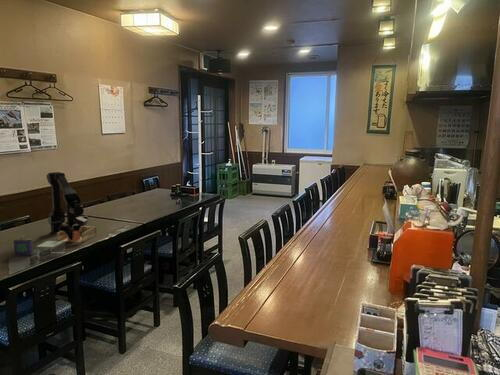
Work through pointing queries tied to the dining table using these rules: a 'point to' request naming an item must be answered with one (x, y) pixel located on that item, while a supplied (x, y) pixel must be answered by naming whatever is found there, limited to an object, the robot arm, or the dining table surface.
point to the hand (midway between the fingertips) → (73, 238)
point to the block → (75, 236)
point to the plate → (50, 244)
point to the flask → (23, 247)
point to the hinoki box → (84, 234)
